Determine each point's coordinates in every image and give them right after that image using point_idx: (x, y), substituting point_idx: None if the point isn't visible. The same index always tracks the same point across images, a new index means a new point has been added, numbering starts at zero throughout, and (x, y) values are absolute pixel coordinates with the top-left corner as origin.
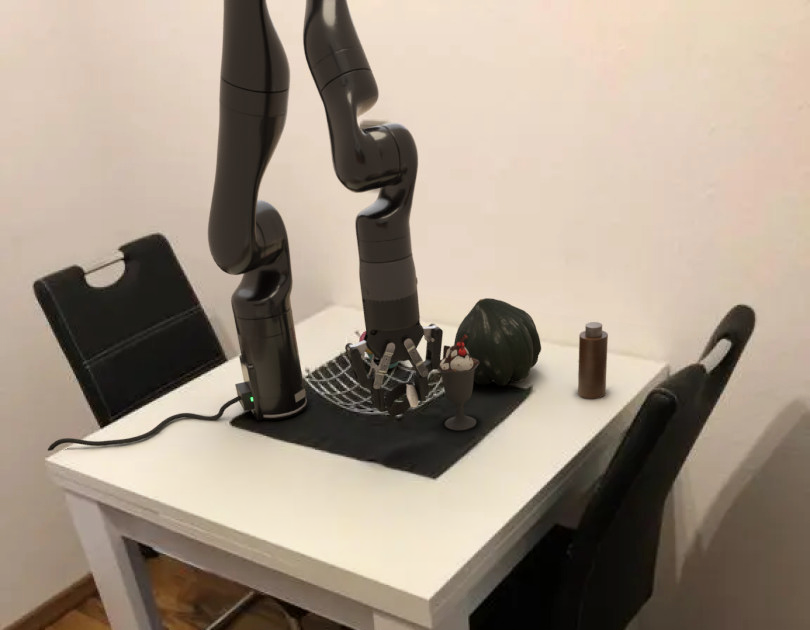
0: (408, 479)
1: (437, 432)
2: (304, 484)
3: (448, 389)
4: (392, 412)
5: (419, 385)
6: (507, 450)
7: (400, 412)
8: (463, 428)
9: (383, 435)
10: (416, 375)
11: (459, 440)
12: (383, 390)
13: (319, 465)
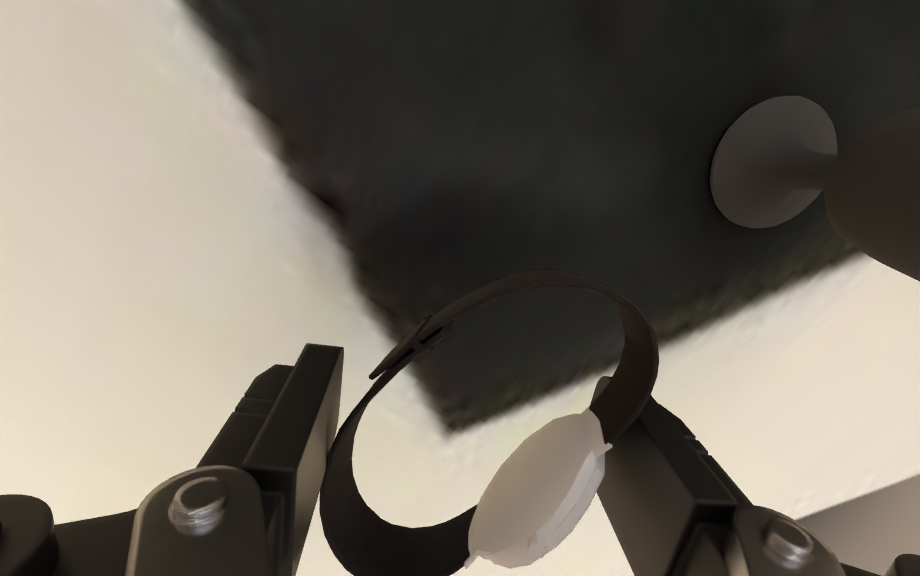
0: (379, 394)
1: (660, 167)
2: (7, 206)
3: (874, 217)
4: (346, 503)
5: (626, 530)
6: (717, 417)
7: (383, 533)
8: (741, 221)
9: (478, 24)
10: (681, 544)
11: (669, 277)
12: (295, 569)
13: (106, 93)
